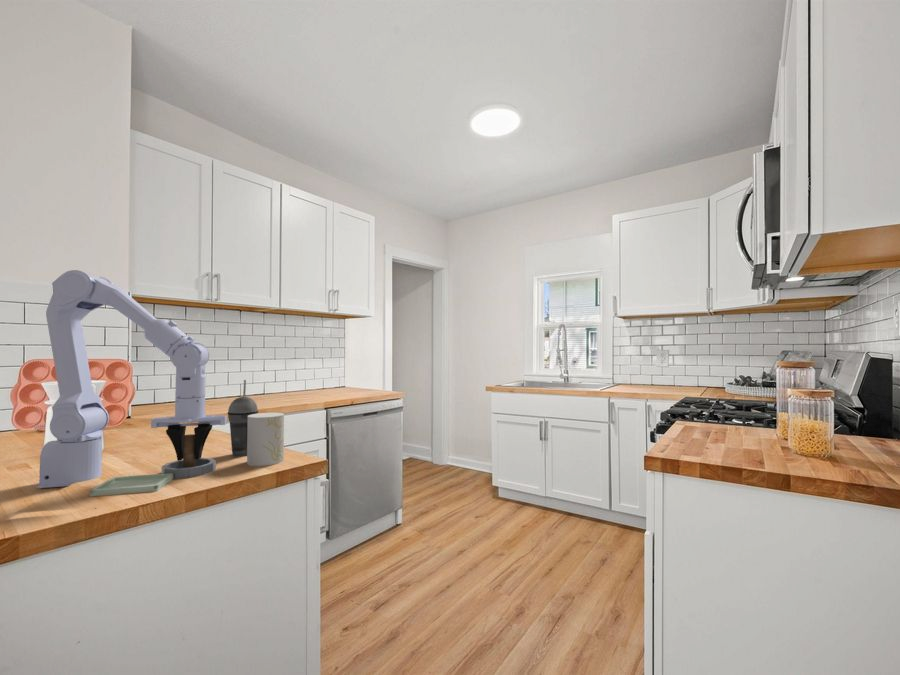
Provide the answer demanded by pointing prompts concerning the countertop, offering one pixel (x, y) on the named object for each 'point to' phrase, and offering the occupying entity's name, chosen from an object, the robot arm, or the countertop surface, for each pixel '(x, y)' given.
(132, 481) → the tray
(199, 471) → the ramekin
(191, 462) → the dowel
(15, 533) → the countertop surface
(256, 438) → the cup
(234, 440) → the beverage cup
